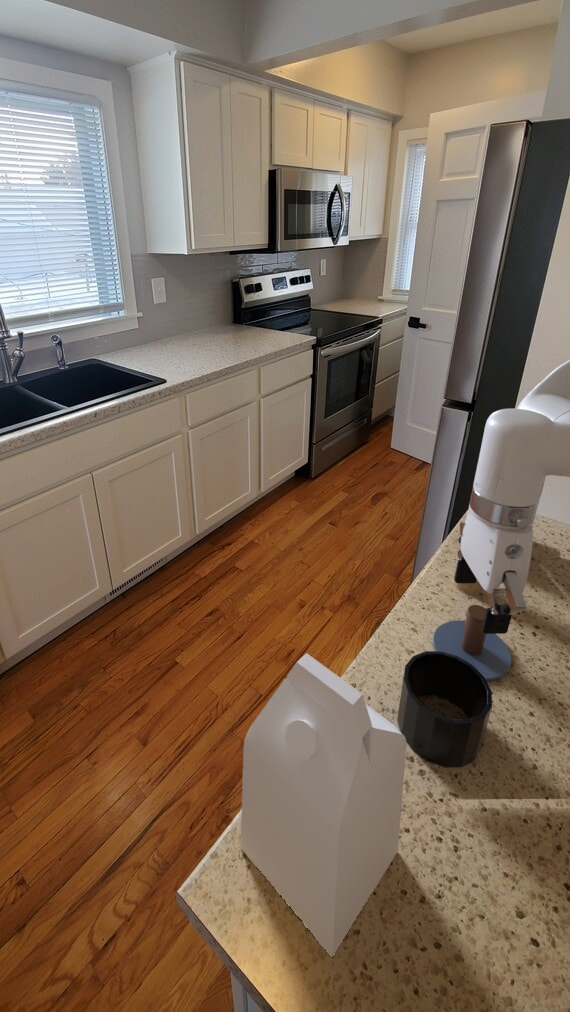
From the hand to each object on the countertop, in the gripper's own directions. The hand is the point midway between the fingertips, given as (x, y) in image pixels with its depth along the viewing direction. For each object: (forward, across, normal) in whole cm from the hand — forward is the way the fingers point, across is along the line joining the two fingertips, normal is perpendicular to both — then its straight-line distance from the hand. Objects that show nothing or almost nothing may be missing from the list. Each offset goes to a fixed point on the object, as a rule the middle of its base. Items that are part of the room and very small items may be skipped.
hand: (478, 605), depth 70 cm
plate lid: (+9, 0, 0) cm, 9 cm away
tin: (+10, -12, +8) cm, 18 cm away
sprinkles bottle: (+10, +14, -6) cm, 18 cm away
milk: (+10, -25, +26) cm, 37 cm away
